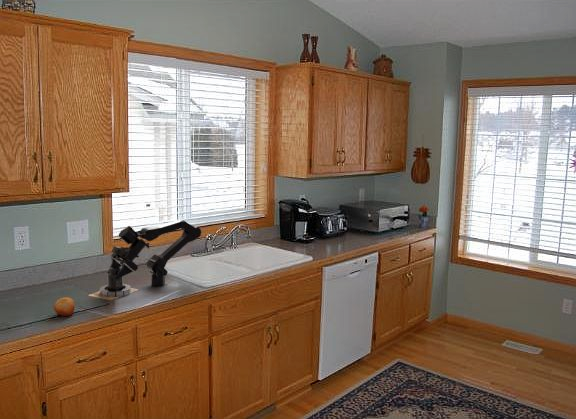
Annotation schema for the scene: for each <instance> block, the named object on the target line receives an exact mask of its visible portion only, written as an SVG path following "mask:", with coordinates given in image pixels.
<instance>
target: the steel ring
mask: <svg viewBox="0 0 576 419" xmlns="http://www.w3.org/2000/svg"><path fill="white" fill-rule="evenodd" d="M131 288H132V286H131V285H130V284H127V283H123V290H119V291H108V284H105V285H103V286H101V287H100V288H99V291H100V295H101V296H103V297H119V298H121V297H126V296H128V295H129V294H131V293H130V292H131Z"/></svg>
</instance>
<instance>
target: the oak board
mask: <svg viewBox="0 0 576 419" xmlns="http://www.w3.org/2000/svg"><path fill="white" fill-rule="evenodd" d="M136 291H139V289H137V288H133V287H131V292H130V294H131V293H135V292H136ZM87 296H88V297H94V298H98V299H103V300H107V301H113V300H115V299H118V298H120V297H103V296H101V295H100V290H99V291H96V292H94V293H91V294H88V295H87Z"/></svg>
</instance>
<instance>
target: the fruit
mask: <svg viewBox="0 0 576 419" xmlns="http://www.w3.org/2000/svg"><path fill="white" fill-rule="evenodd" d="M52 307H53V310H54V312H55V314H57V315H58V316H59V315H61V316H60V317H66V316H67V315H69V316H71V315H72V314H74V312H75V308H76V305H75V301H74V300H73V299H72V298H71V297H68V296H67V297H66V296H65V297H61V298H59V299H58V300H56V301H55V303H53V306H52Z"/></svg>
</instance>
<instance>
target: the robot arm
mask: <svg viewBox="0 0 576 419" xmlns="http://www.w3.org/2000/svg"><path fill="white" fill-rule="evenodd" d="M177 230H181V231H182V234H181V236H180V237H179V238H178V239H176V240H175V241H174V242H173V243H172V244H171V245H169V246H168V248H166V249H165V250H164V251H163V252H162V253H161V254H158V255H157V254H153V255H152V256H151V257H150V258H148V259H147V262H146V269H147V270H148V271H149V273H150V274H151V287H152V288H158V287H163V286H168V284H167V283H166V276H168V272H169V271H168V270H167V269H166V268H165V267H166V266H167V264H168V261H170V260H171V258H173V257H174V256H175V255H176V254H177V253H179V251H181V249H183V248H185V246H186V245H187V244H188V243H191V242H193V241H195V240H197V239H199V238H200V237H201V235H202V230H201V228H200V227H199V226H195V225H192V224H190V223H188V222H187V221H185V220H183V219H177V220H175V221H172V222H168V223H165V224H161V225H158V226H148V227H142V228H141V229H140V230H137V231H135V230H134V229H133V227H132V226H130V225H127V227H124V228H123V229H121V230H120V232H119V234H118V237H119V238H120V239H121V240H122V241H124V243H126V244H127V245H128V247H127V246H126V247H123V246H120V247H119V246H116V245H113V247H112V250H111V255H110V260H111V264H110V266H109V268H111V267H120V271H119V273H118V274H117V276H116V277H115V278H116V279H118V278H120V277H122V276H123V277H124V276H126V275H128V274H131V273H134V272H136V271H137V270H138V268H139V265H138V264H136V263H135V262H134V260H135V259H138V258H139V257H140V253H142V251H143V249H144V248H146V249H148V250H149V249H150V243H149V242H153V241H154V240H156V239H158V238H160V236H162V235H165V234H168V233H171V232H175V231H177ZM109 273H110V272H109V270H108V271H107V275H108V274H109Z"/></svg>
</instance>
